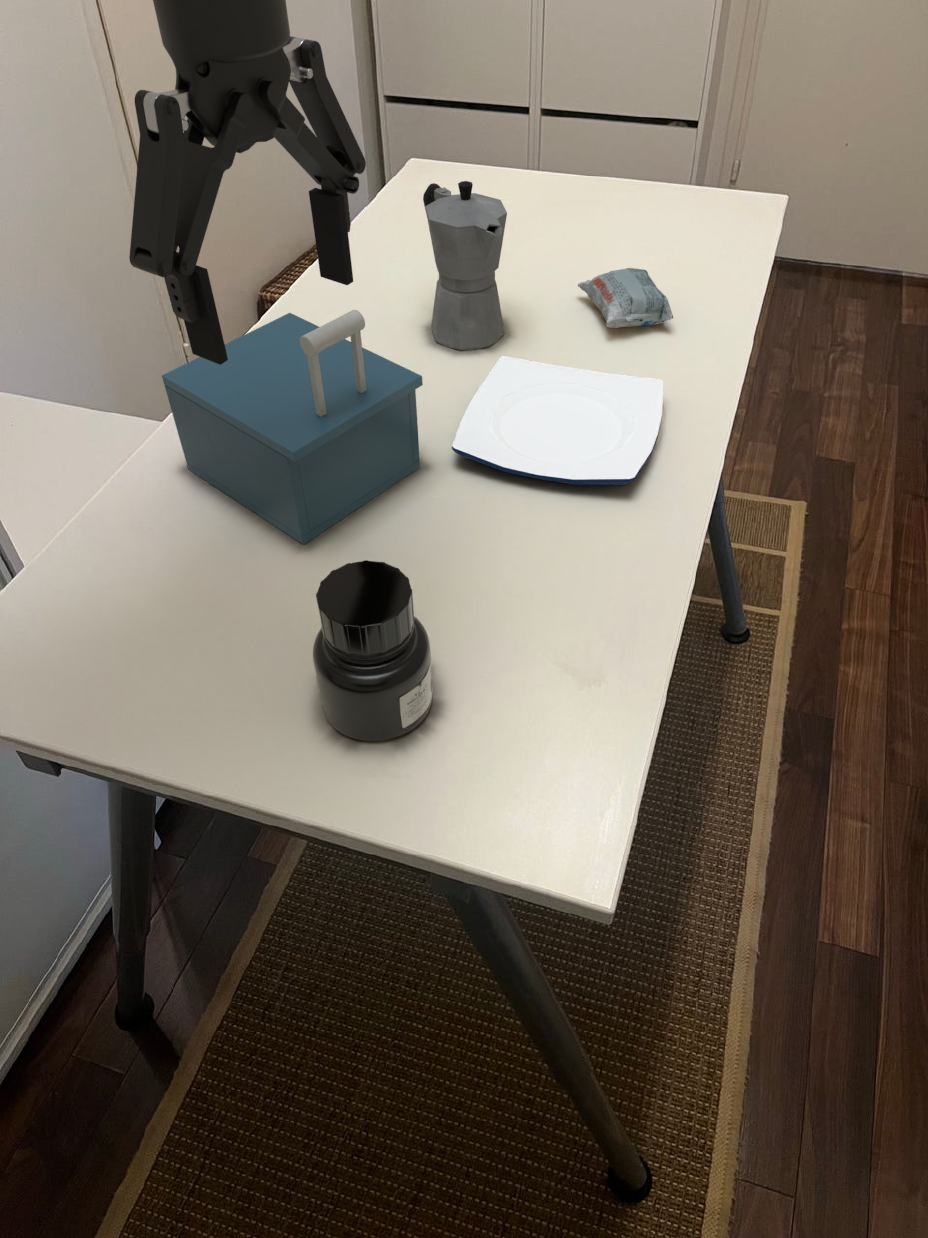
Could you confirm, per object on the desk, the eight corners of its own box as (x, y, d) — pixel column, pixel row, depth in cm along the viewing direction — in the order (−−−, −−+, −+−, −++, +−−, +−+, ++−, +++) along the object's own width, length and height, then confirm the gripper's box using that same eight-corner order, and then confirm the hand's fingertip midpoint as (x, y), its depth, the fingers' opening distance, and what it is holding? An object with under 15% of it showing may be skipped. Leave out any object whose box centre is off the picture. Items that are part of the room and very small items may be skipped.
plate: (670, 397, 104) (674, 376, 102) (638, 508, 90) (641, 487, 88) (495, 370, 108) (496, 350, 106) (439, 472, 95) (439, 451, 93)
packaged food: (604, 343, 112) (609, 304, 108) (575, 297, 120) (579, 260, 117) (672, 335, 113) (679, 297, 110) (639, 291, 121) (644, 254, 118)
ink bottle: (440, 741, 71) (434, 635, 62) (324, 755, 70) (302, 649, 62) (426, 649, 78) (418, 541, 69) (320, 661, 77) (300, 553, 68)
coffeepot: (529, 343, 112) (535, 191, 99) (463, 366, 109) (461, 212, 96) (461, 293, 121) (459, 148, 108) (399, 313, 118) (388, 165, 105)
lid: (422, 385, 88) (418, 297, 81) (294, 462, 80) (278, 371, 73) (291, 321, 97) (277, 237, 90) (164, 384, 89) (139, 297, 82)
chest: (420, 467, 95) (415, 381, 88) (303, 545, 87) (287, 458, 80) (304, 404, 104) (291, 321, 97) (188, 469, 96) (164, 384, 89)
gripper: (82, 32, 44) (188, 412, 59) (400, -66, 58) (419, 262, 73) (-15, 11, 47) (110, 378, 62) (309, -77, 61) (346, 240, 76)
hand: (277, 316), depth 68 cm, fingers open, 13 cm apart
